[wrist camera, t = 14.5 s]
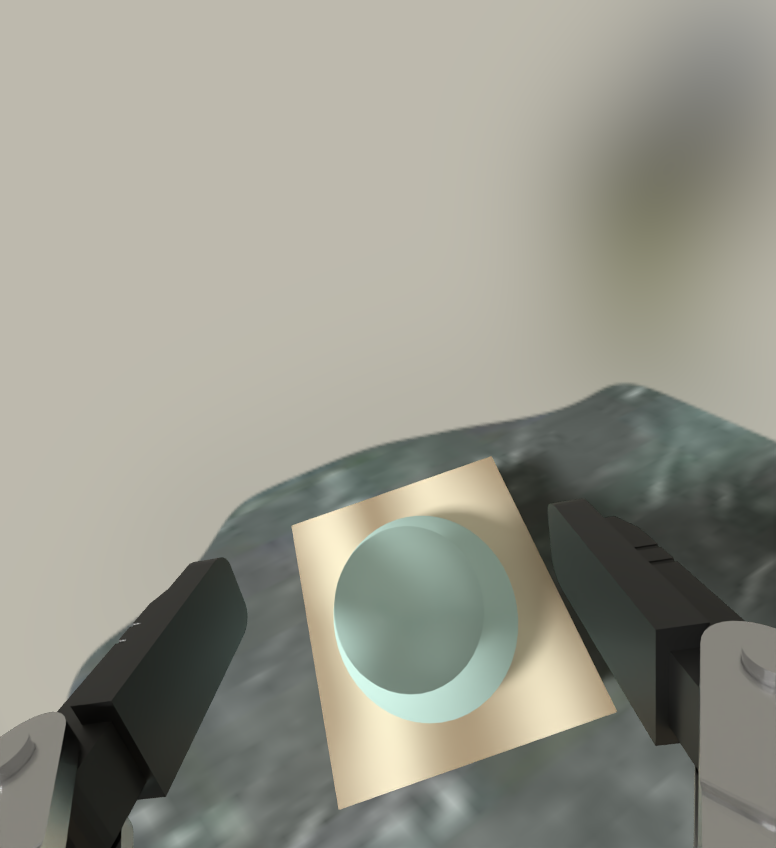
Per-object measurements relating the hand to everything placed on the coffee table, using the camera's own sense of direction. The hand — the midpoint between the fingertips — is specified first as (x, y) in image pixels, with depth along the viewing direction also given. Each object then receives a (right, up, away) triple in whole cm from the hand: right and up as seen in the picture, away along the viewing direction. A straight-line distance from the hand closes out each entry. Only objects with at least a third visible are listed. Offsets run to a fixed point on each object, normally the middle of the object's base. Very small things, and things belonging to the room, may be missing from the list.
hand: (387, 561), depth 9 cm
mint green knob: (+2, -6, +9) cm, 10 cm away
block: (+3, -8, +13) cm, 15 cm away
